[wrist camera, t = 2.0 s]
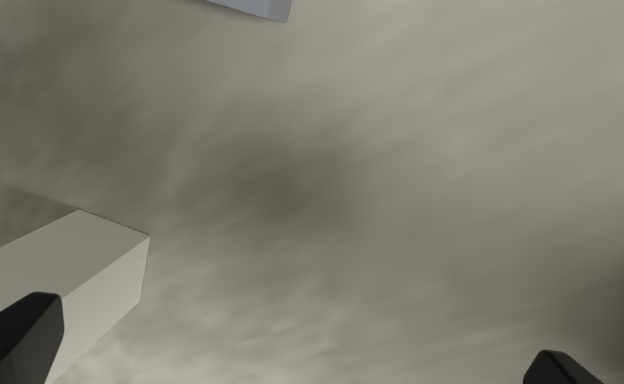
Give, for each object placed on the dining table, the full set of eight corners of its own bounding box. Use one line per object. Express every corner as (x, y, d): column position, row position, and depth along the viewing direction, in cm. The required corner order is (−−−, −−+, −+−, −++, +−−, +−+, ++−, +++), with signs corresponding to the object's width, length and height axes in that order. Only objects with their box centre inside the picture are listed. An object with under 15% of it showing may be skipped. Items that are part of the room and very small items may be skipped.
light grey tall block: (151, 235, 22) (-79, 399, 12) (140, 302, 23) (-74, 500, 13) (78, 208, 22) (-205, 342, 12) (71, 275, 24) (-187, 446, 14)
